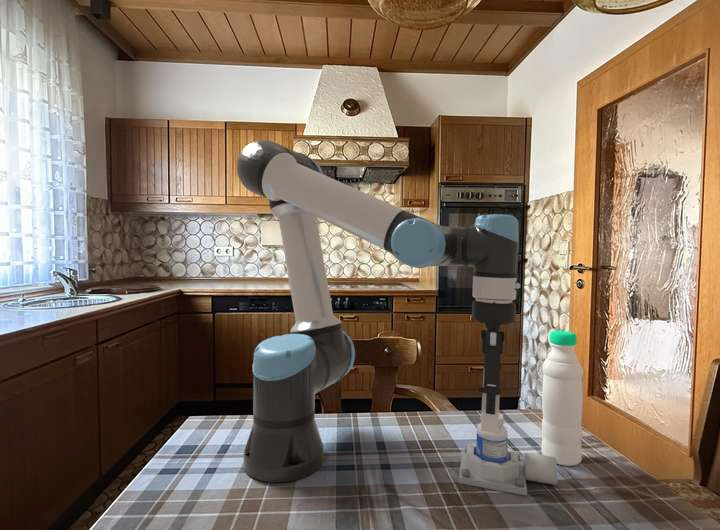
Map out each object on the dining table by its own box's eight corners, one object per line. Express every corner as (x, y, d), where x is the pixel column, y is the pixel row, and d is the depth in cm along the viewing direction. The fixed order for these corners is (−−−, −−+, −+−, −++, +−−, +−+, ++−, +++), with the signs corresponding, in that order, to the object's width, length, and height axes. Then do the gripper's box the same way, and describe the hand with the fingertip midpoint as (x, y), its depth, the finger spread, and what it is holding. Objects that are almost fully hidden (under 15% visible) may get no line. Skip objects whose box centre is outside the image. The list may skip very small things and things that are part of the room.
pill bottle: (477, 457, 74) (478, 406, 74) (507, 463, 72) (508, 411, 72) (474, 471, 69) (475, 417, 69) (506, 478, 67) (507, 423, 67)
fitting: (458, 483, 67) (459, 458, 67) (462, 453, 78) (463, 431, 78) (560, 502, 62) (561, 475, 62) (550, 467, 73) (550, 444, 72)
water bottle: (587, 469, 72) (589, 336, 71) (546, 465, 73) (548, 334, 73) (574, 451, 79) (576, 329, 78) (537, 447, 80) (539, 327, 80)
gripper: (521, 310, 57) (515, 451, 58) (512, 295, 81) (508, 395, 81) (469, 307, 60) (464, 442, 60) (475, 293, 83) (471, 390, 84)
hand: (489, 415), depth 71 cm, fingers open, 13 cm apart
